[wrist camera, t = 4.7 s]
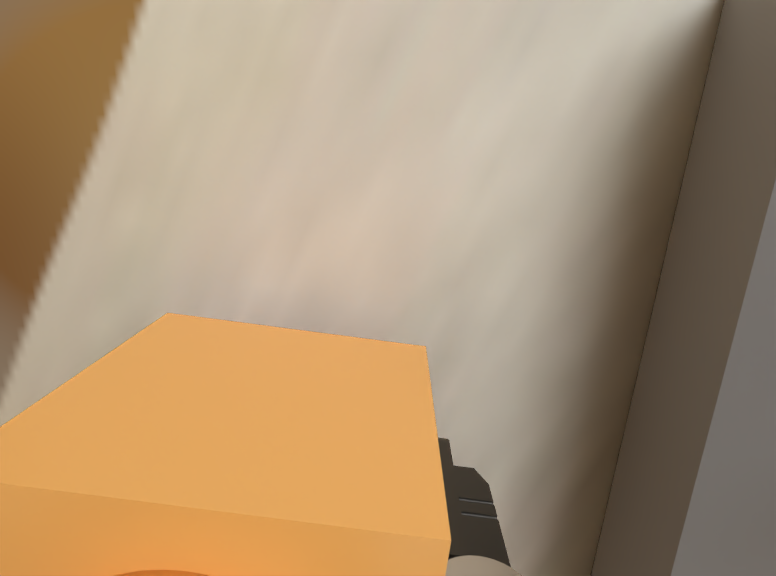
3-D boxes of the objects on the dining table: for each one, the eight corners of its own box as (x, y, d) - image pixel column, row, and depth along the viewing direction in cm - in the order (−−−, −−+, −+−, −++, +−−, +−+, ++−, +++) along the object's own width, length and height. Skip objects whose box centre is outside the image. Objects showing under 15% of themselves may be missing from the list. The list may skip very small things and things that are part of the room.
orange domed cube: (167, 313, 12) (-166, 540, 5) (425, 346, 12) (462, 619, 5) (155, 541, 13) (-131, 993, 6) (392, 571, 13) (381, 1055, 6)
